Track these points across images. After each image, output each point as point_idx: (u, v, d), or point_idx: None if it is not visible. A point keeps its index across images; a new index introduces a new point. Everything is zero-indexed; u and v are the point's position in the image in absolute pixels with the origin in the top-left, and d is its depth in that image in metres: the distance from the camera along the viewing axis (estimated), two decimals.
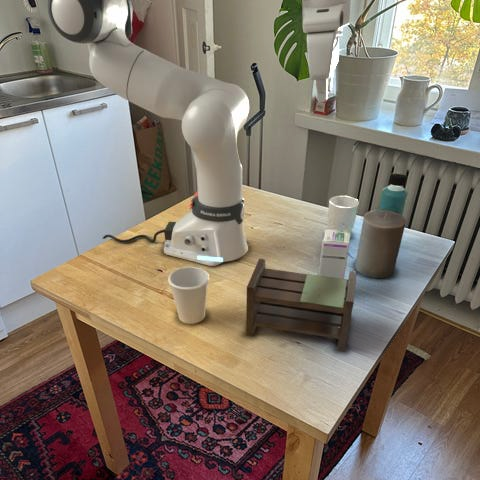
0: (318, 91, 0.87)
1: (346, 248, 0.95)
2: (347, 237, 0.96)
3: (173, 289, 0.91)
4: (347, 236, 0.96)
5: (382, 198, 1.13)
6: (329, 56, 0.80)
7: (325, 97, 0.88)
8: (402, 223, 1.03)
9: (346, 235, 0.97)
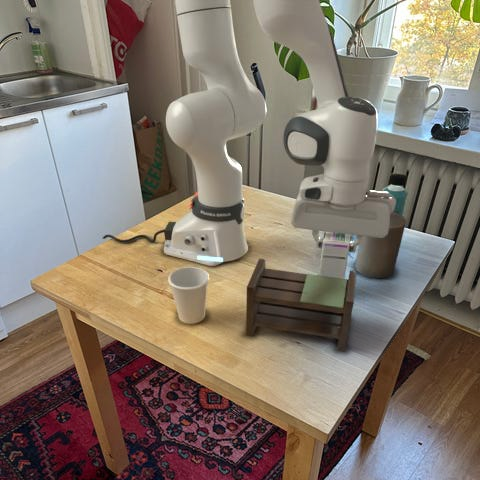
0: None
1: (347, 248, 0.95)
2: (348, 237, 0.96)
3: (173, 289, 0.91)
4: (348, 236, 0.96)
5: None
6: (292, 211, 0.94)
7: (316, 244, 0.98)
8: (402, 223, 1.03)
9: (346, 235, 0.97)
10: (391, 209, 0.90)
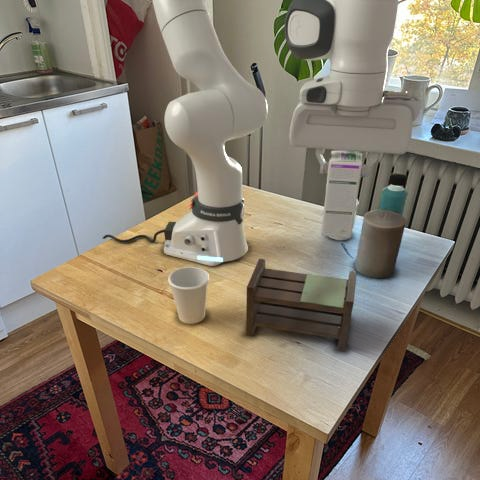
0: None
1: (358, 169, 0.77)
2: (359, 157, 0.78)
3: (173, 289, 0.91)
4: (359, 156, 0.79)
5: (382, 198, 1.13)
6: (291, 124, 0.76)
7: (320, 169, 0.81)
8: (402, 223, 1.03)
9: (357, 155, 0.79)
10: (414, 115, 0.72)
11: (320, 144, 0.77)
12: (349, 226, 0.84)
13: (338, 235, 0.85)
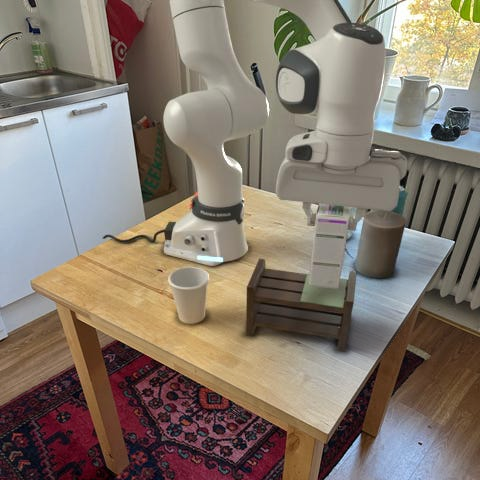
0: None
1: (345, 224, 0.76)
2: (347, 211, 0.77)
3: (173, 289, 0.91)
4: (347, 210, 0.78)
5: None
6: (277, 178, 0.75)
7: (307, 221, 0.80)
8: (402, 223, 1.03)
9: (345, 209, 0.78)
10: (401, 173, 0.71)
11: (307, 198, 0.76)
12: (336, 278, 0.83)
13: (326, 285, 0.84)
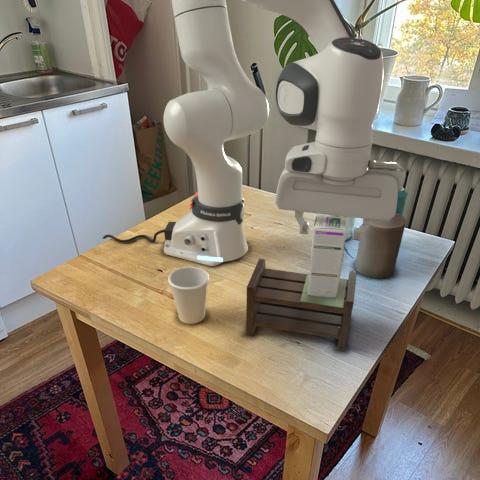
0: None
1: (342, 236, 0.77)
2: (344, 223, 0.79)
3: (173, 289, 0.91)
4: (344, 222, 0.79)
5: None
6: (277, 188, 0.76)
7: None
8: (402, 223, 1.03)
9: (342, 220, 0.79)
10: (399, 184, 0.72)
11: (306, 208, 0.77)
12: (335, 288, 0.84)
13: (324, 295, 0.86)
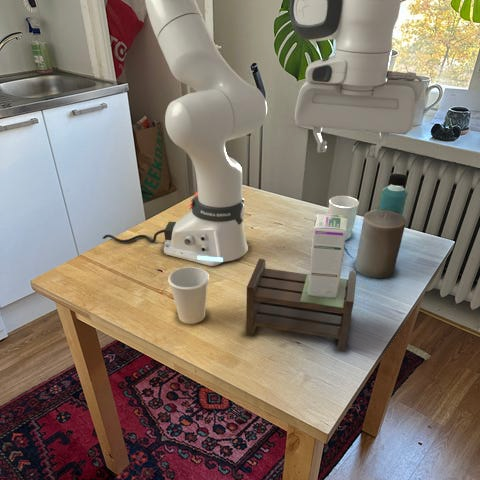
0: None
1: (342, 236, 0.77)
2: (344, 223, 0.79)
3: (173, 289, 0.91)
4: (344, 222, 0.79)
5: (382, 198, 1.13)
6: None
7: (317, 148, 0.83)
8: (402, 223, 1.03)
9: (342, 220, 0.79)
10: (417, 95, 0.74)
11: (325, 123, 0.79)
12: (335, 288, 0.84)
13: (324, 295, 0.86)
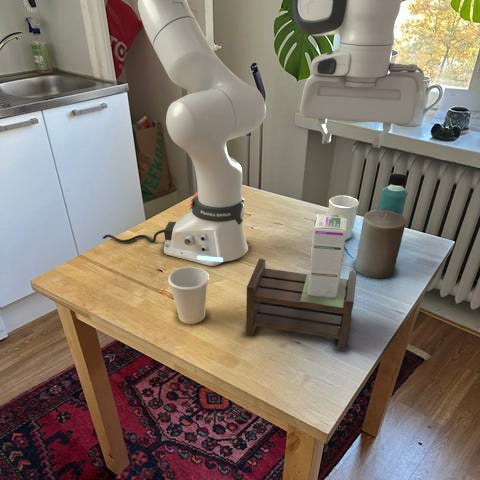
0: None
1: (342, 236, 0.77)
2: (344, 223, 0.79)
3: (173, 289, 0.91)
4: (344, 222, 0.79)
5: (382, 198, 1.13)
6: (302, 95, 0.81)
7: (322, 139, 0.86)
8: (402, 223, 1.03)
9: (342, 220, 0.79)
10: (418, 86, 0.77)
11: (329, 115, 0.82)
12: (335, 288, 0.84)
13: (324, 295, 0.86)
